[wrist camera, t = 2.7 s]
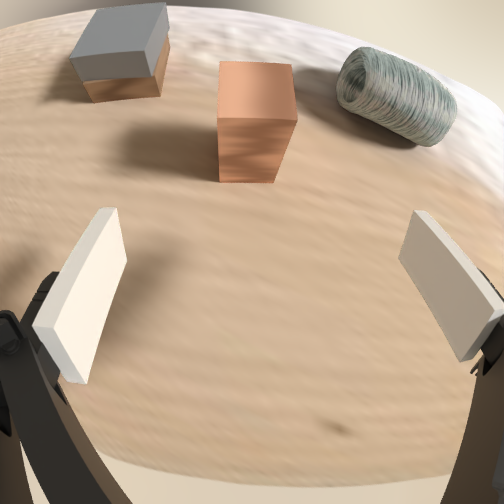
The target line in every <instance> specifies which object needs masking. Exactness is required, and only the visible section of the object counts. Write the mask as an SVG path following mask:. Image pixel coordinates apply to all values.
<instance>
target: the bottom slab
mask: <svg viewBox="0 0 504 504" xmlns="http://www.w3.org/2000/svg"><path fill="white" fill-rule="evenodd" d="M169 51H170V44H169V38H168V33H167V36H166V39H165V41H164V44H163V47H162V49H161V52H160V55H159V58H158V60H157V63H156V66H155V69H154V72H153V75H152V77H141V78H119V79H104V80H93V81H84V82H83V86H84V87H85V89H86V91H87V93H88V94H89V96H90V98H91V100H92V101H93V103H100V102H107V101H116V100H125V99H136V98H148V97H161V92H162V86H163V81H164V75H165V70H166V65H167V60H168V55H169Z"/></svg>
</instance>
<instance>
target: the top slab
mask: <svg viewBox="0 0 504 504" xmlns="http://www.w3.org/2000/svg"><path fill="white" fill-rule="evenodd" d="M169 28H170V27H169V21H168V14H167V8H166V3H165V2H164V3H149V4H137V5H127V6H119V7H112V8H105V9H98V10H97V11H96V12H95V14H94V15H93V17H92V19H91V20H90V22H89V23H88V25H87V27H86V28H85V30H84V32H83V34H82V35H81V37H80V39H79V41H78V42H77V44H76V46H75V48H74V50H73V51H72V53H71V55H70V57H69V59H70V61H71V63H72V65H73V67H74V69H75V70H76V72H77V74H78V76H79V78H80V79H81V81H82V82H83V81H93V80H104V79H119V78H141V77H152V75H153V72H154V69H155V66H156V63H157V60H158V58H159V55H160V52H161V49H162V47H163V44H164V41H165V39H166V36H167V33H168V31H169Z"/></svg>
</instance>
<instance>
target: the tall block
mask: <svg viewBox="0 0 504 504" xmlns="http://www.w3.org/2000/svg"><path fill="white" fill-rule="evenodd" d="M297 120H298V119H297V110H296V100H295V91H294V83H293V74H292V66H291V64H280V63H263V62H231V61H220V67H219V87H218V110H217V127H218V155H219V180H220V183H274V180H275V178H276V175H277V172H278V170H279V167H280V164H281V162H282V159H283V157H284V154H285V151H286V149H287V146H288V144H289V141H290V139H291V136H292V133H293V131H294V128H295V126H296V123H297Z"/></svg>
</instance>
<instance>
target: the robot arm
mask: <svg viewBox="0 0 504 504" xmlns="http://www.w3.org/2000/svg"><path fill="white" fill-rule="evenodd" d="M398 259H399V260H400V262H401V263H402V265H403V266H404V268H405V269H406V271H407V273H408V274H409V276H410V277H411V279H412V280H413V282H414V284H415V285H416V287H417V288H418V290H419V292H420V293H421V295H422V297H423V298H424V300H425V302H426V303H427V305H428V307H429V308H430V310H431V312H432V313H433V315H434V317H435V319H436V320H437V322H438V324H439V326H440V327H441V329H442V331H443V333H444V335H445V336H446V338H447V340H448V342H449V344H450V346H451V347H452V349H453V351H454V353H455V355H456V357H457V359H458V361H459V362H463V361H467V360H470V359H473V358H474V356H475V355H476V354H477V352H478V351H479V350H480V348H481V350H482V352H483V355H482V357H481V358H480V359H479V361H478V362H477V363H476V364H475V366H474V367H473V368H472V369H471V372H470V373H471V374H472V373H473V372H474V371H475V370H476V369H478V372H477V373H476V374H475V376H477V378H476V384H475V389H474V394H473V399H472V404H471V408H470V413H469V417H468V421H467V425H466V429H465V433H464V436H463V440H462V443H461V447H460V450H459V453H458V456H457V460H456V463H455V466H454V469H453V471H452V474H451V477H450V480H449V483H448V485H447V488H446V491H445V493H444V496H443V498H442V500H441V503H440V504H504V299H503V297H502V296H501V295H500V293H499V292H498V291H497V289H495V287H494V286H493V284H492V283H490V280H489V279H488V278H487V277H486V275H485V274H484V273H483V272H482V271H481V270H479V269H478V268H477V267H476V266H475V265H474V264H473V263H472V261H471V260H470V259H469V258H468V257H467V255H466V254H465V253H464V252H463V251H462V250H461V248H460V247H459V246H458V245H457V244H456V243H455V242H454V240H453V239H452V238H451V237H450V236H449V235H448V234H447V233H446V232H445V230H444V229H443V228H442V227H441V226H440V225H439V224H438V223H437V222H436V221H435V220H434V219H433V218H432V217H431V215H430V214H429V213H428V212H427V211H419V210H413V214H412V217H411V220H410V224H409V227H408V230H407V233H406V236H405V239H404V242H403V245H402V248H401V251H400V254H399V257H398ZM126 262H127V258H126V253H125V249H124V244H123V239H122V234H121V229H120V224H119V219H118V213H117V208H116V207H109V208H100V209H99V210H98V212H97V213H96V215H95V216H94V218H93V219H92V221H91V222H90V224H89V225H88V227H87V228H86V230H85V231H84V233H83V235H82V236H81V238H80V239H79V241H78V243H77V244H76V246H75V247H74V249H73V251H72V252H71V254H70V256H69V257H68V259H67V261H66V262H65V264H64V266H63V268H62V269H61V271H60V272H52V273H50V274H49V275H48V276H47V277H46V278H45V279H44V280H43V281H42V283H41V285H40V286H39V288H38V290H37V293H35V295H34V297H33V299H32V301H31V302H30V304H29V306H28V308H27V310H26V312H25V314H24V315H23V317H22V319H21V321H20V323H19V321H18V320H17V318H16V316H15V314H14V313H13V312H11V311H9V310H2V311H0V504H34V503H33V500H32V496H31V492H30V488H29V484H28V481H27V476H26V472H25V467H24V462H23V457H22V451H21V446H20V441H21V443H22V446H23V448H24V451H25V453H26V456H27V458H28V460H29V462H30V465H31V467H32V469H33V471H34V474H35V476H36V478H37V480H38V482H39V484H40V486H41V488H42V490H43V492H44V493H45V495H46V497H47V499H48V501H49V503H50V504H132V502H131V501H130V500H129V498H128V497H127V496H126V494H125V493H124V492H123V490H122V489H121V488H120V486H119V485H118V483H117V482H116V481H115V479H114V478H113V476H112V475H111V473H110V472H109V470H108V469H107V467H106V466H105V464H104V463H103V461H102V460H101V458H100V457H99V455H98V453H97V452H96V450H95V449H94V447H93V445H92V444H91V442H90V440H89V439H88V437H87V435H86V434H85V432H84V430H83V428H82V427H81V425H80V423H79V421H78V419H77V417H76V416H75V414H74V412H73V410H72V408H71V406H70V404H69V402H68V400H67V398H66V396H65V394H64V392H63V390H62V388H61V386H60V384H59V383H58V382H57V380H58V377H59V374H60V372H61V374H62V375H63V377H64V378H65V379H66V381H67V382H73V383H80V384H87V381H88V377H89V374H90V370H91V366H92V363H93V359H94V356H95V353H96V349H97V346H98V343H99V339H100V336H101V333H102V330H103V327H104V324H105V321H106V318H107V315H108V312H109V309H110V306H111V303H112V300H113V297H114V294H115V292H116V289H117V286H118V283H119V281H120V278H121V275H122V273H123V270H124V267H125V265H126Z"/></svg>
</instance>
